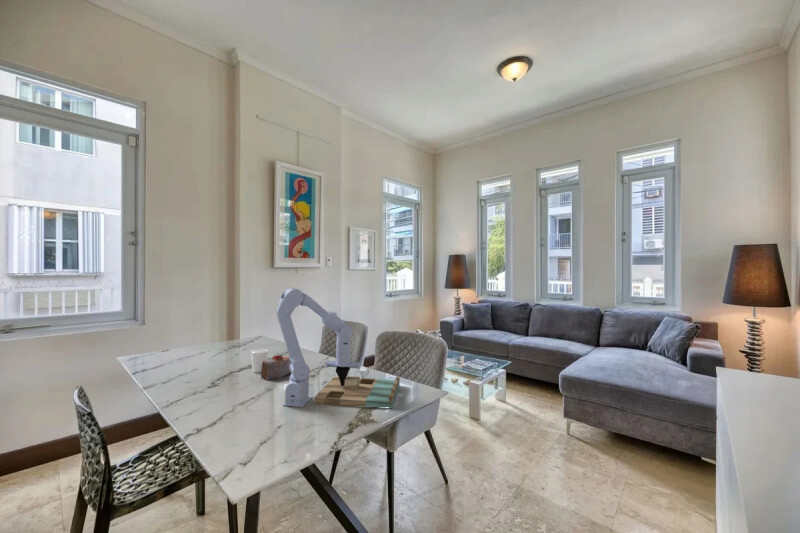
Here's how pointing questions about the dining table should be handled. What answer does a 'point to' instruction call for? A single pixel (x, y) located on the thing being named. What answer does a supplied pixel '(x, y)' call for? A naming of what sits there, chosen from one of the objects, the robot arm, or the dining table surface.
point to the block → (352, 382)
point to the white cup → (258, 359)
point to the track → (360, 393)
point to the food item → (275, 367)
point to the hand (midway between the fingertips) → (342, 384)
